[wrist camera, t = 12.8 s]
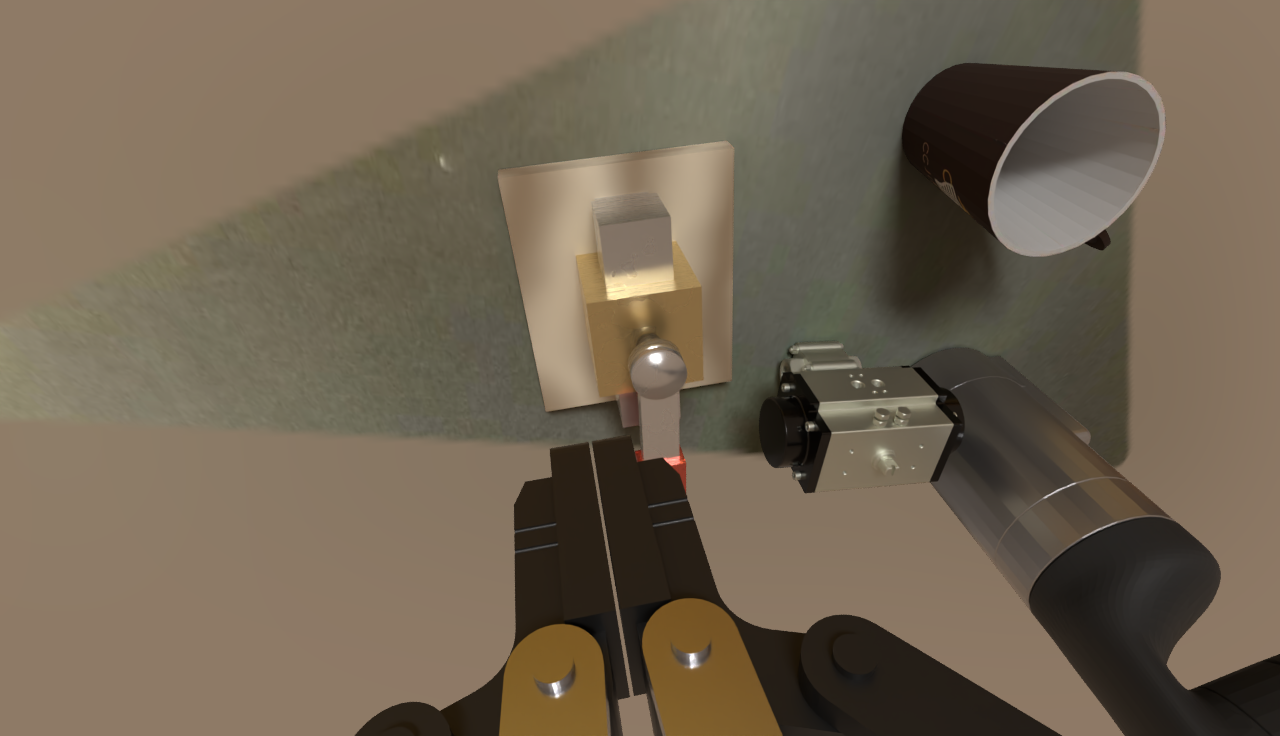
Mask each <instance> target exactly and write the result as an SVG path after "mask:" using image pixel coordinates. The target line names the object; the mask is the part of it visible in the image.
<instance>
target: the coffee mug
mask: <svg viewBox="0 0 1280 736" xmlns="http://www.w3.org/2000/svg"><path fill="white" fill-rule="evenodd" d="M1165 130H1166V118H1165V109H1164V106H1163V103H1162V99H1161V96H1160V95H1159V93H1158V92H1157V90H1156V89H1155V88H1154V86H1153V85H1152V84H1150V83H1149V82H1148V81H1147V80H1145V79H1144V78H1142V77H1141V76H1138V75H1135V74H1131V73H1128V72H1117V71H1100V70H1083V69H1066V68H1048V67H1031V66H1014V65H996V64H979V63H964V64H959V65H955V66H952V67H950V68H948V69H945V70H944V71H942V72H941V73H939V74H937V75H936V76H934V77H933V78H932V79H931V80H930V81H929V82H928V83H927V84H925V86H924V87H923V88H922V89H921V90H920V92H919V93H918V94H917V96H916V97H915V99H914V100H913V102H912V104H911V106H910V108H909V110H908V112H907V115H906V118H905V122H904V126H903V135H902V140H903V148H904V151H905V154H906V156H907V158H908V160H909V161H910V163H911V164H912V165H913V166H914V167H915V168H917V169H918V170H919V171H920V172H921V173H922V174H923V175H924V176H926V177H927V178H928V179H929V180H930V181H931V182H932V183H934V184H935V185H936V186H937V187H938V188H939V189H940V190H942V191H943V192H944V193H945V194H946V195H947V196H948V197H950V198H951V199H952V200H953V201H954V202H955V203H956V204H957V205H959V206H960V207H961V208H962V209H963V210H964V211H965V212H967V213H968V214H969V215H970V216H971V217H972V218H973V219H975V220H976V221H977V222H978V223H979V224H980V225H981V226H983V227H984V228H985V229H986V230H987V231H988V232H989V233H990V234H992V235H993V236H994V237H995V238H996V239H997V240H998V241H1000V242H1001V243H1002V244H1003V245H1004V246H1005V247H1006V248H1008V249H1010V250H1012V251H1014V252H1016V253H1018V254H1021V255H1027V256H1032V257H1035V256H1049V255H1054V254H1058V253H1062V252H1065V251H1067V250H1070V249H1072V248H1075V247H1077V246H1080V245H1081V244H1083V243H1085V244H1087V245H1089V246H1091V247H1093V248H1096V249H1098V250H1104V249H1105V248H1106V247H1107V246H1108V245H1109V244H1110V243H1111V241H1110V238H1109V235H1108V233H1107V231H1106V230H1105V229H1106V228H1107V227H1109V226H1110V225H1111V224H1112V223H1113V222H1114V221H1115V220H1116V219H1117V218H1118V217H1120V216H1121V215H1122V214H1123V213H1124V212H1125V211H1126V209H1127V208H1128V207H1129V206H1130V205H1131V204H1132V202H1133V201H1134V200H1135V199H1136V198H1137V196H1138V195H1139V194H1140V192H1141V190H1142V189H1143V187H1144V186H1145V184H1146V183H1147V181H1148V180H1149V178H1150V176H1151V174H1152V172H1153V170H1154V168H1155V166H1156V164H1157V162H1158V159H1159V155H1160V153H1161V149H1162V146H1163V142H1164V137H1165ZM1095 237H1096V238H1095Z"/></svg>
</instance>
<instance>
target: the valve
mask: <svg viewBox="0 0 1280 736" xmlns="http://www.w3.org/2000/svg"><path fill="white" fill-rule="evenodd" d="M591 205H592V213H593V221H594V229H595V237H596V245H597V252H595V253H588V254H581V255H576V261H577V268H578V275H579V282H580V289H581V295H582V302H583V309H584V316H585V323H586V330H587V337H588V343H589V348H590V353H591V358H592V363H593V368H594V373H595V378H596V383H597V388H598V393H599V397H606V396H612V395H615V396H616V400H617V405H618V409H619V413H620V417H621V421H622V426H623V428H626V427H632V426H638V425H639V410H638V393H637V392H636V390H635V389H634V387H633V384H632V380H631V377H630V373H629V369H628V358H629V356H630V354H631V352H632V351H633V349H634V348H635V347H636V346H637V345H639V344H640V343H642V342H644V341H646V340H649V339H655V338H660V339H666V340H668V341H671V342H672V343H674V344H675V345H676V346H677V347H678V349H679V351H680V353H681V356H682V358H683V361H684V363H685V365H686V368H687V379H686V382H685V383H690V382H696V381H702V380H704V373H703V326H702V286H701V284H700V283H699V281H698V279H697V277H696V275H695V274H694V272H693V270H692V268H691V267H690V265H689V263H688V261H687V259H686V258H685V256H684V254H683V252H682V250H681V249H680V247H679V245H678V243H677V242H676V241H672V232H671V216H670V214H669V213H668V211H667V209H666V208H665V206H664V204H663V202H662V201H661V199H660V197H659V196H658V194H657V193H650V194H649V193H648V192H640V193H633V194H626V195H618V196H611V197H603V198H596V199H595V201H591ZM679 418H681V414H680V394H679Z"/></svg>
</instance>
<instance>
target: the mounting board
mask: <svg viewBox="0 0 1280 736" xmlns="http://www.w3.org/2000/svg"><path fill="white" fill-rule="evenodd" d="M498 181H499V186H500V191H501V196H502V201H503V206H504V210H505V215H506V220H507V225H508V230H509V235H510V239H511V244H512V249H513V254H514V259H515V264H516V268H517V273H518V278H519V283H520V288H521V293H522V298H523V302H524V307H525V312H526V317H527V322H528V327H529V331H530V336H531V341H532V346H533V351H534V356H535V360H536V365H537V370H538V375H539V380H540V385H541V390H542V394H543V399H544V404H545V409H546V412H548V411H554V410H560V409H566V408H572V407H578V406H584V405H590V404H596V403H602V402H608V401H614V400H616V396H615V395H612V396H606V397H599V393H598V388H597V383H596V378H595V373H594V368H593V363H592V358H591V353H590V348H589V343H588V337H587V330H586V323H585V316H584V309H583V302H582V295H581V289H580V282H579V275H578V268H577V261H576V255H581V254H588V253H595V252H597V245H596V237H595V229H594V221H593V213H592V205H591V201H595V199H596V198H603V197H611V196H618V195H626V194H633V193H640V192H648V193H649V194H650V193H657V194H658V196H659V197H660V199H661V201H662V202H663V204H664V206H665V208H666V209H667V211H668V213H669V214H670V216H671V232H672V241H676V242H677V243H678V245H679V247H680V249H681V250H682V252H683V254H684V256H685V258H686V259H687V261H688V263H689V265H690V267H691V268H692V270H693V272H694V274H695V275H696V277H697V279H698V281H699V283H700V284H701V286H702V326H703V373H704V380H702V381H696V382H690V383H685V384H684V385H683V387H682V388H681V389H685V388H691V387H697V386H703V385H709V384H715V383H721V382H727V381H732V308H733V213H734V147H733V146H732V145H731V144H730V143H728V142H727V141H720V142H712V143H704V144H697V145H689V146H681V147H673V148H665V149H658V150H650V151H642V152H634V153H626V154H618V155H611V156H603V157H595V158H587V159H579V160H572V161H564V162H556V163H548V164H540V165H532V166H525V167H517V168H509V169H501V170H498Z"/></svg>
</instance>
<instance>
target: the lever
mask: <svg viewBox="0 0 1280 736" xmlns="http://www.w3.org/2000/svg"><path fill="white" fill-rule="evenodd" d="M628 369H629V373H630V377H631V380H632V384H633V387H634V389H635V390H636V392H637V393H638V410H639V427H640V445H641V450H638V451H635V456H636V460H637V462H639V461H644V460H650V459H656V458H661V457H663V458H664V459H665V460H666V461H667V462H668V463H669V464H670V465H671V466H672V467H673V468H674V469H675V470H676V471H677V472H678V473H679V474H680V477H681V480H682V483H683V486H684V489H685V492H686V462H685V459H684V456H683V453H682V450H681V447H680V444H679V390H680V389H681V388H682V387H683V385H684V384H685V382H686V379H687V368H686V365H685V363H684V361H683V358H682V356H681V353H680V351H679V349H678V347H677V346H676V345H675V344H674V343H672V342H671V341H668V340H666V339H660V338H655V339H649V340H646V341H644V342H642V343H640V344H639V345H637V346H636V347H635V348H634V349H633V351H632V352H631V354H630V356H629V358H628Z"/></svg>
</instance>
